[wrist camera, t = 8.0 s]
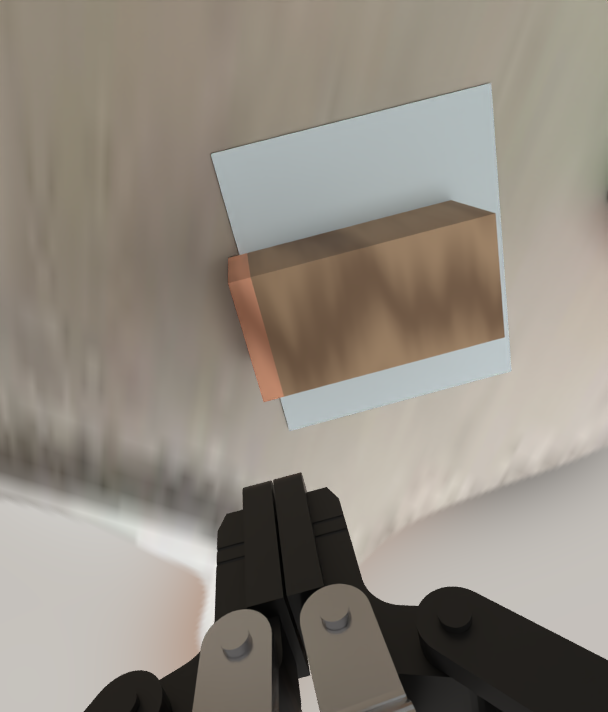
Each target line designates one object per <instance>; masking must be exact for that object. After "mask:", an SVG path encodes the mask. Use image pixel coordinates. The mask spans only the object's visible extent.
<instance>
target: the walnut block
mask: <svg viewBox="0 0 608 712" xmlns="http://www.w3.org/2000/svg"><path fill="white" fill-rule="evenodd" d="M228 285H229V288H230V291H231V295H232V298H233V301H234V305H235V308H236V311H237V315H238V318H239V321H240V325H241V328H242V331H243V335H244V338H245V341H246V345H247V348H248V351H249V355H250V358H251V361H252V365H253V368H254V371H255V375H256V378H257V381H258V385H259V388H260V391H261V395H262V398H263V401H264V402H266V401H270V400H274V399H277V398H281V397H285V396H288V395H292V394H296V393H300V392H303V391H307V390H311V389H315V388H318V387H322V386H326V385H329V384H333V383H337V382H341V381H344V380H348V379H352V378H355V377H359V376H363V375H367V374H370V373H374V372H378V371H382V370H385V369H389V368H393V367H396V366H400V365H404V364H408V363H411V362H415V361H419V360H422V359H426V358H430V357H434V356H437V355H441V354H445V353H449V352H452V351H456V350H460V349H463V348H467V347H471V346H475V345H478V344H482V343H486V342H490V341H493V340H497V339H501V338H504V337H505V333H504V319H503V306H502V292H501V279H500V266H499V252H498V239H497V225H496V213H493V212H490V211H486V210H483V209H480V208H476V207H473V206H469V205H466V204H463V203H459V202H456V201H453V200H449V201H446V202H442V203H438V204H434V205H430V206H426V207H422V208H419V209H415V210H411V211H407V212H403V213H399V214H396V215H392V216H388V217H384V218H380V219H376V220H372V221H369V222H365V223H361V224H357V225H353V226H349V227H346V228H342V229H338V230H334V231H330V232H326V233H322V234H319V235H315V236H311V237H307V238H303V239H299V240H295V241H292V242H288V243H284V244H280V245H276V246H272V247H269V248H265V249H261V250H257V251H253V252H249V253H245V254H242V255H238V256H234V257H230V258H228Z"/></svg>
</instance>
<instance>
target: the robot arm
mask: <svg viewBox="0 0 608 712" xmlns="http://www.w3.org/2000/svg"><path fill="white" fill-rule="evenodd" d="M273 484H274V485H273ZM217 550H218V552H217V567H216V597H215V622H214V624H213V625H212V626H211V628H210V629H209V630H208V632H207V633H206V635H205V637H204V639H203V642H202V646H201V651H200V652H199V653H198V654H197V655H196V656H195V657H194V658H193V659H192V660H191V661H189V662H188V663H186V664H185V665H183V666H182V667H180V668H179V669H177V670H175V671H174V672H172V673H170V674H169V675H167V676H165V677H164V678H162V679H160V680H158V678H157V677H156V676H155V675H154V674H152V673H150V672H147V671H142V670H140V671H132V672H128V673H126V674H123V675H121V676H119V677H118V678H116V679H114V680H113V681H112V682H110V683H109V684H108V685H107V686H106V687H105V688H104V689H103V690H102V691H101V692H100V693H99V694H98V695H97V696H96V698H95V699H94V700H93V701H92V703H91V704H90V705H89V706H88V707H87V708H86V710H85V711H84V712H302V710H301V698H300V690H299V681H298V679H299V678H302V677H306V676H309V675H310V672H309V665H310V670H311V674H312V679H313V683H314V688H315V692H316V696H317V700H318V705H319V710H320V712H608V660H606V659H604V658H602V657H600V656H599V655H596V654H594V653H592V652H591V651H588V650H587V649H585V648H583V647H581V646H579V645H577V644H575V643H573V642H571V641H569V640H567V639H565V638H563V637H561V636H560V635H558V634H556V633H554V632H552V631H550V630H548V629H546V628H544V627H542V626H540V625H538V624H536V623H534V622H532V621H530V620H528V619H526V618H524V617H522V616H520V615H518V614H516V613H514V612H512V611H511V610H509V609H507V608H505V607H503V606H501V605H499V604H497V603H495V602H493V601H491V600H489V599H487V598H485V597H483V596H481V595H479V594H477V593H476V592H473V591H471V590H469V589H465V588H461V587H444V588H440V589H437V590H435V591H433V592H431V593H429V594H428V595H427V596H426V597H425V598H424V599H423V600H422V601H421V603H420V604H419V606H405V605H394V604H389V603H386V602H384V601H381V600H380V599H378V598H376V597H375V596H374V595H372V594H371V593H370V592H369V591H368V589H367V588H366V586H365V585H364V583H363V580H362V577H361V574H360V570H359V567H358V563H357V560H356V556H355V553H354V549H353V546H352V542H351V539H350V535H349V532H348V529H347V525H346V522H345V518H344V515H343V511H342V508H341V504H340V501H339V498H338V497H337V496H335V495H334V494H333V493H332V492H331V491H330V490H329V489H328V488H327V487H325V488H322V489H318V490H314V491H310V492H307V490H306V486H305V483H304V479H303V476H302V473H297V474H293V475H289V476H286V477H282V478H278V479H274V480H273V483H272V481H267V482H264V483H260V484H256V485H252V486H249V487H245V488H243V510H240V511H236V512H232V513H229V514H226V516H225V518H224V520H223V522H222V524H221V526H220V528H219V530H218V538H217ZM308 661H309V664H308Z"/></svg>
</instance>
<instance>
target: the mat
mask: <svg viewBox="0 0 608 712" xmlns="http://www.w3.org/2000/svg"><path fill="white" fill-rule="evenodd" d="M211 157H212V160H213V164H214V167H215V171H216V174H217V178H218V181H219V185H220V188H221V192H222V195H223V199H224V202H225V206H226V209H227V213H228V217H229V220H230V224H231V227H232V231H233V234H234V238H235V241H236V245H237V248H238V252H239V255H242V254H245V253H249V252H253V251H257V250H261V249H265V248H269V247H272V246H276V245H280V244H284V243H288V242H292V241H295V240H299V239H303V238H307V237H311V236H315V235H319V234H322V233H326V232H330V231H334V230H338V229H342V228H346V227H349V226H353V225H357V224H361V223H365V222H369V221H372V220H376V219H380V218H384V217H388V216H392V215H396V214H399V213H403V212H407V211H411V210H415V209H419V208H422V207H426V206H430V205H434V204H438V203H442V202H446V201H449V200H453V201H456V202H459V203H463V204H466V205H469V206H473V207H476V208H480V209H483V210H486V211H490V212H493V213H496V225H497V239H498V252H499V266H500V279H501V292H502V306H503V319H504V333H505V337H504V338H501V339H497V340H493V341H490V342H486V343H482V344H478V345H475V346H471V347H467V348H463V349H460V350H456V351H452V352H449V353H445V354H441V355H437V356H434V357H430V358H426V359H422V360H419V361H415V362H411V363H408V364H404V365H400V366H396V367H393V368H389V369H385V370H382V371H378V372H374V373H370V374H367V375H363V376H359V377H355V378H352V379H348V380H344V381H341V382H337V383H333V384H329V385H326V386H322V387H318V388H315V389H311V390H307V391H303V392H300V393H296V394H292V395H288V396H285V397H281V398H280V399H281V403H282V406H283V410H284V413H285V417H286V420H287V424H288V428H289V431H292V430H296V429H300V428H303V427H307V426H311V425H314V424H318V423H322V422H325V421H329V420H333V419H337V418H340V417H344V416H348V415H351V414H355V413H359V412H362V411H366V410H370V409H373V408H377V407H381V406H385V405H388V404H392V403H396V402H399V401H403V400H407V399H410V398H414V397H418V396H422V395H425V394H429V393H433V392H436V391H440V390H444V389H447V388H451V387H455V386H459V385H462V384H466V383H470V382H473V381H477V380H481V379H484V378H488V377H492V376H496V375H499V374H503V373H507V372H510V371H511V357H510V343H509V328H508V314H507V300H506V286H505V272H504V258H503V243H502V229H501V215H500V201H499V187H498V173H497V158H496V144H495V130H494V116H493V102H492V88H491V83H488V84H484V85H480V86H476V87H473V88H469V89H465V90H461V91H457V92H453V93H449V94H445V95H441V96H437V97H433V98H429V99H425V100H421V101H417V102H413V103H409V104H405V105H402V106H398V107H394V108H390V109H386V110H382V111H378V112H374V113H370V114H366V115H362V116H358V117H354V118H350V119H346V120H342V121H338V122H334V123H331V124H327V125H323V126H319V127H315V128H311V129H307V130H303V131H299V132H295V133H291V134H287V135H283V136H279V137H275V138H271V139H267V140H264V141H260V142H256V143H252V144H248V145H244V146H240V147H236V148H232V149H228V150H224V151H220V152H216V153H212V154H211Z"/></svg>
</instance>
